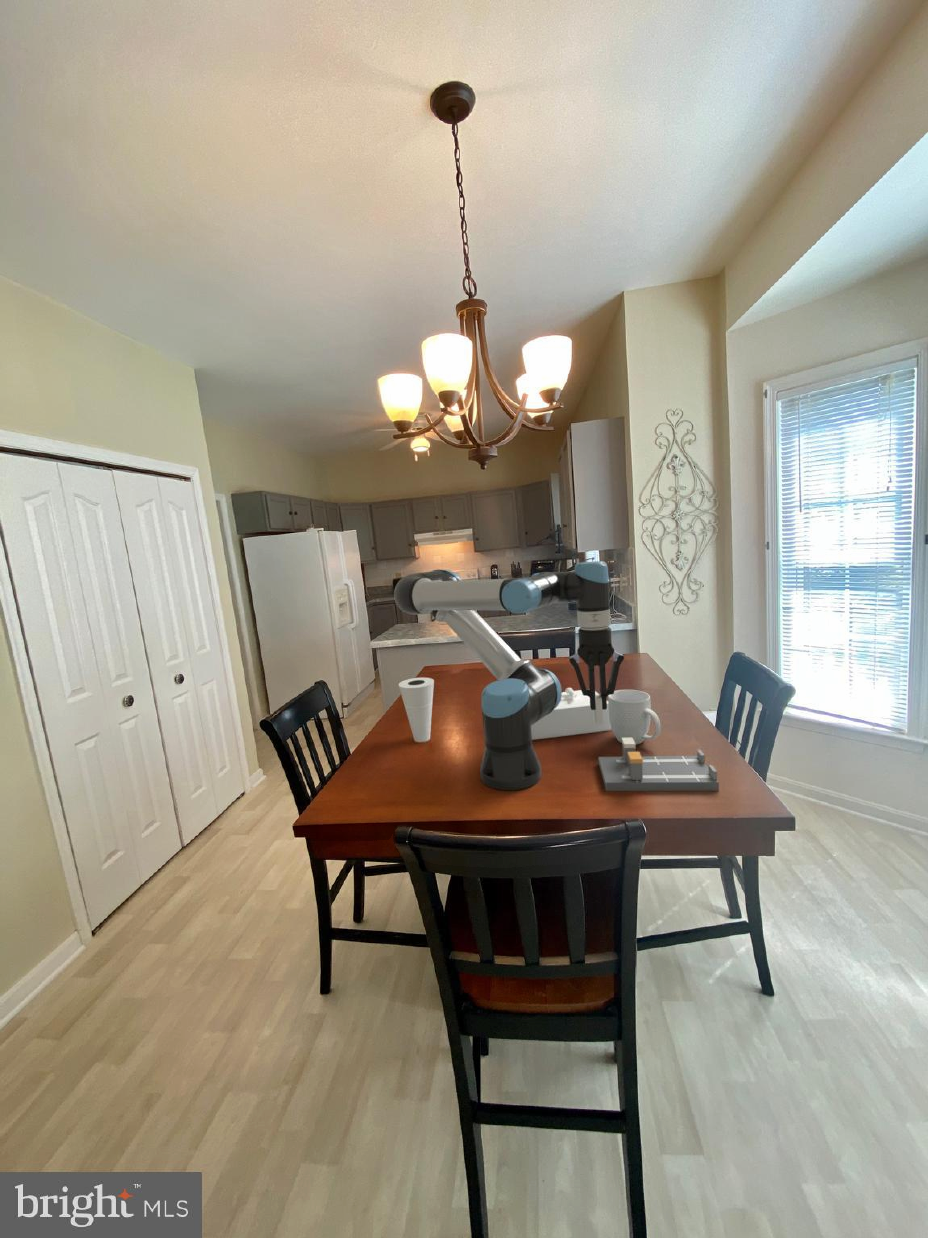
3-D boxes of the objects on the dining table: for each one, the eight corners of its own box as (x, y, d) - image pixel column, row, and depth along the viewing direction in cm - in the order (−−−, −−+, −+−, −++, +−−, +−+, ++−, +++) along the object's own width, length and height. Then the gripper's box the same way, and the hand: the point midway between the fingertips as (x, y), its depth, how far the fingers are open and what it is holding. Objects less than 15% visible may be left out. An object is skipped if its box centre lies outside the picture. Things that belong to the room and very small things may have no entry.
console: (605, 790, 109) (605, 774, 108) (598, 764, 122) (598, 749, 121) (718, 790, 105) (718, 773, 105) (699, 763, 118) (699, 748, 117)
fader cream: (624, 763, 116) (624, 744, 115) (622, 756, 120) (621, 737, 119) (636, 763, 116) (635, 744, 115) (633, 756, 119) (632, 737, 119)
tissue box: (611, 731, 142) (609, 695, 140) (528, 741, 140) (526, 705, 138) (593, 714, 156) (592, 681, 155) (518, 723, 154) (515, 690, 152)
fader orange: (631, 780, 108) (630, 759, 108) (628, 772, 112) (627, 751, 111) (643, 780, 108) (642, 759, 107) (639, 771, 112) (639, 751, 111)
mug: (672, 744, 129) (671, 698, 127) (647, 757, 123) (645, 708, 121) (626, 729, 142) (625, 686, 140) (601, 740, 136) (599, 695, 134)
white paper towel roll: (399, 745, 144) (392, 688, 141) (413, 731, 154) (407, 677, 151) (432, 747, 141) (426, 688, 138) (444, 732, 151) (438, 677, 148)
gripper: (567, 631, 111) (573, 728, 115) (625, 628, 109) (629, 727, 112) (565, 626, 118) (570, 717, 122) (620, 622, 116) (624, 715, 120)
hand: (599, 721), depth 117 cm, fingers closed
